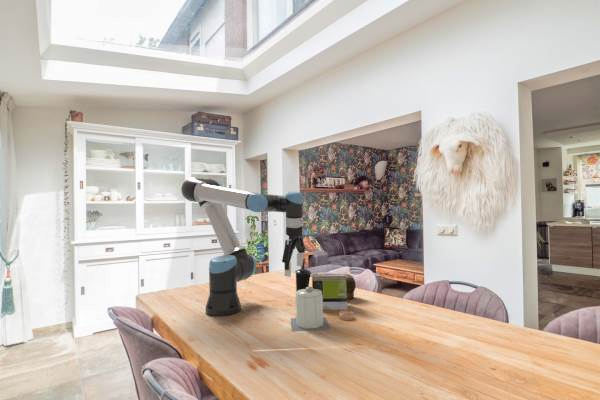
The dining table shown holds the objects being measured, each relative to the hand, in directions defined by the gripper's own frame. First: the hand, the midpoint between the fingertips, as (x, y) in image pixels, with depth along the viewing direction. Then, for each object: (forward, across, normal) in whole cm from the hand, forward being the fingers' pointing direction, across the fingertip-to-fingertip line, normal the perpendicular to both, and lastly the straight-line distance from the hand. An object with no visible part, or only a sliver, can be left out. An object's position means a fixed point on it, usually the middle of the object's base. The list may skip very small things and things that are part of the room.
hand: (294, 270), depth 153 cm
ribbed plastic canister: (+9, -25, -18) cm, 32 cm away
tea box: (+14, -1, -18) cm, 23 cm away
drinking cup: (+16, +6, -2) cm, 17 cm away
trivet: (+10, -25, -18) cm, 32 cm away
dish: (+10, -14, -29) cm, 34 cm away
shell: (+16, +15, -20) cm, 30 cm away
